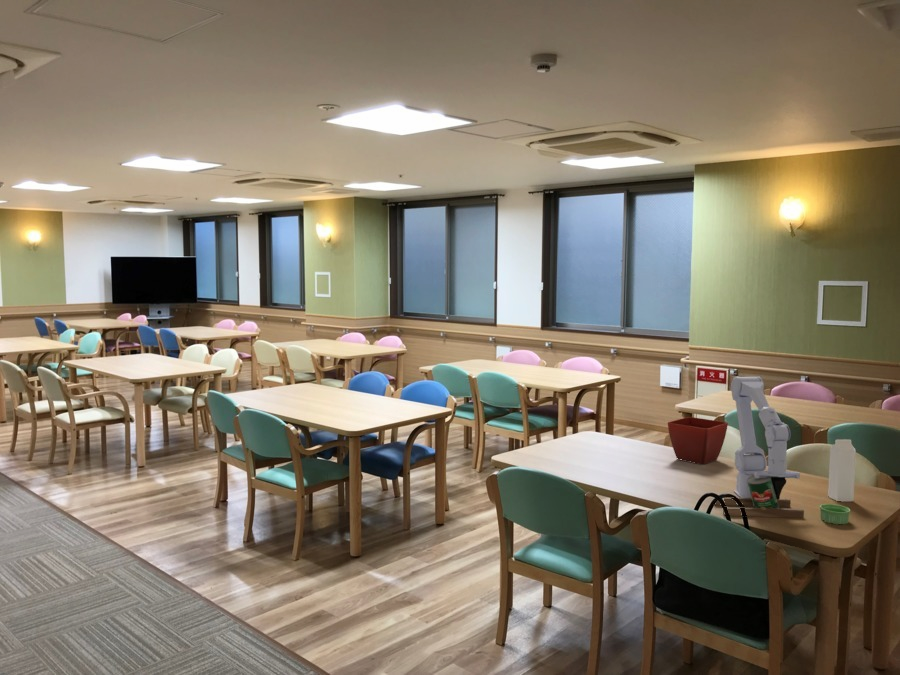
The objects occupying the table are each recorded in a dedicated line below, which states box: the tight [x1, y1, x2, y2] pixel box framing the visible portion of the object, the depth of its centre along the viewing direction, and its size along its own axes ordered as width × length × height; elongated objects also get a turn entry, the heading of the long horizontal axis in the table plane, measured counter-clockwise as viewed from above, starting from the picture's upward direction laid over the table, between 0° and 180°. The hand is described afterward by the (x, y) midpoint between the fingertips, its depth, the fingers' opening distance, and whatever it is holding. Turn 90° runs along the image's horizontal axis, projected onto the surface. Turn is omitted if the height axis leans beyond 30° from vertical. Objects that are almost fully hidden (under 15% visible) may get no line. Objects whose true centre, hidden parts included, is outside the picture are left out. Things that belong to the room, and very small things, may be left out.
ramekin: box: [819, 503, 851, 525], centre depth 239 cm, size 9×9×4 cm
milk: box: [827, 438, 857, 502], centre depth 261 cm, size 6×6×22 cm
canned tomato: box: [747, 476, 780, 508], centre depth 247 cm, size 8×8×11 cm
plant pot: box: [667, 416, 729, 465], centre depth 316 cm, size 19×19×17 cm
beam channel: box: [714, 497, 805, 518], centre depth 249 cm, size 13×26×3 cm, turn 86°
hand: (776, 498), depth 247 cm, fingers closed, pressing on canned tomato
